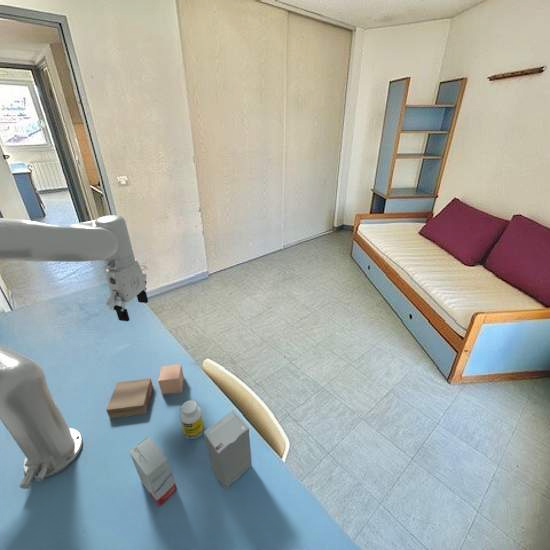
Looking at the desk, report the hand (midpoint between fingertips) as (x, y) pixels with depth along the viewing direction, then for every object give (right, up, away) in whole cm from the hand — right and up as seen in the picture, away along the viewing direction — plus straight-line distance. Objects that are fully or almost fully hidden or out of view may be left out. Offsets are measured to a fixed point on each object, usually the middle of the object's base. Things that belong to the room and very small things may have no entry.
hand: (134, 310), depth 93 cm
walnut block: (0, -28, -1) cm, 28 cm away
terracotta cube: (+10, -25, +4) cm, 27 cm away
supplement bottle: (+21, -32, -9) cm, 39 cm away
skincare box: (+32, -37, -19) cm, 52 cm away
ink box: (+16, -39, -22) cm, 47 cm away
